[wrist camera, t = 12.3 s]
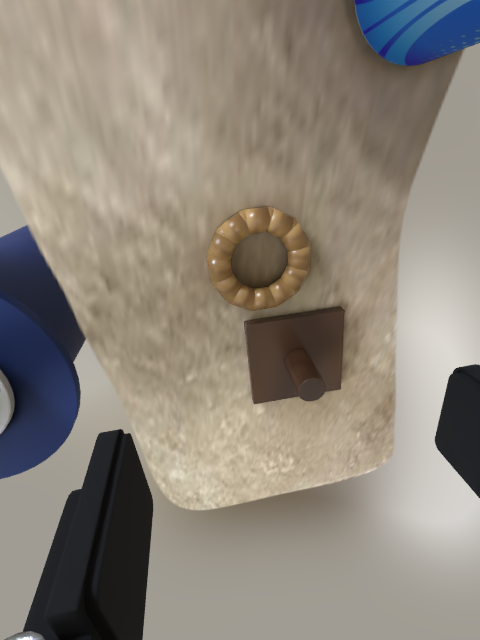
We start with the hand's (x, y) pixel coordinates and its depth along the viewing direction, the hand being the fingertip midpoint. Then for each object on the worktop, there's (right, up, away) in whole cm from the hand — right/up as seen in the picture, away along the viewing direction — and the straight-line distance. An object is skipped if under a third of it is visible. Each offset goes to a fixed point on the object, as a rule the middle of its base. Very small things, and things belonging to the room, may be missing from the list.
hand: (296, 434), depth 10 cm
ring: (0, +8, +17) cm, 19 cm away
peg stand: (+4, 0, +23) cm, 23 cm away
